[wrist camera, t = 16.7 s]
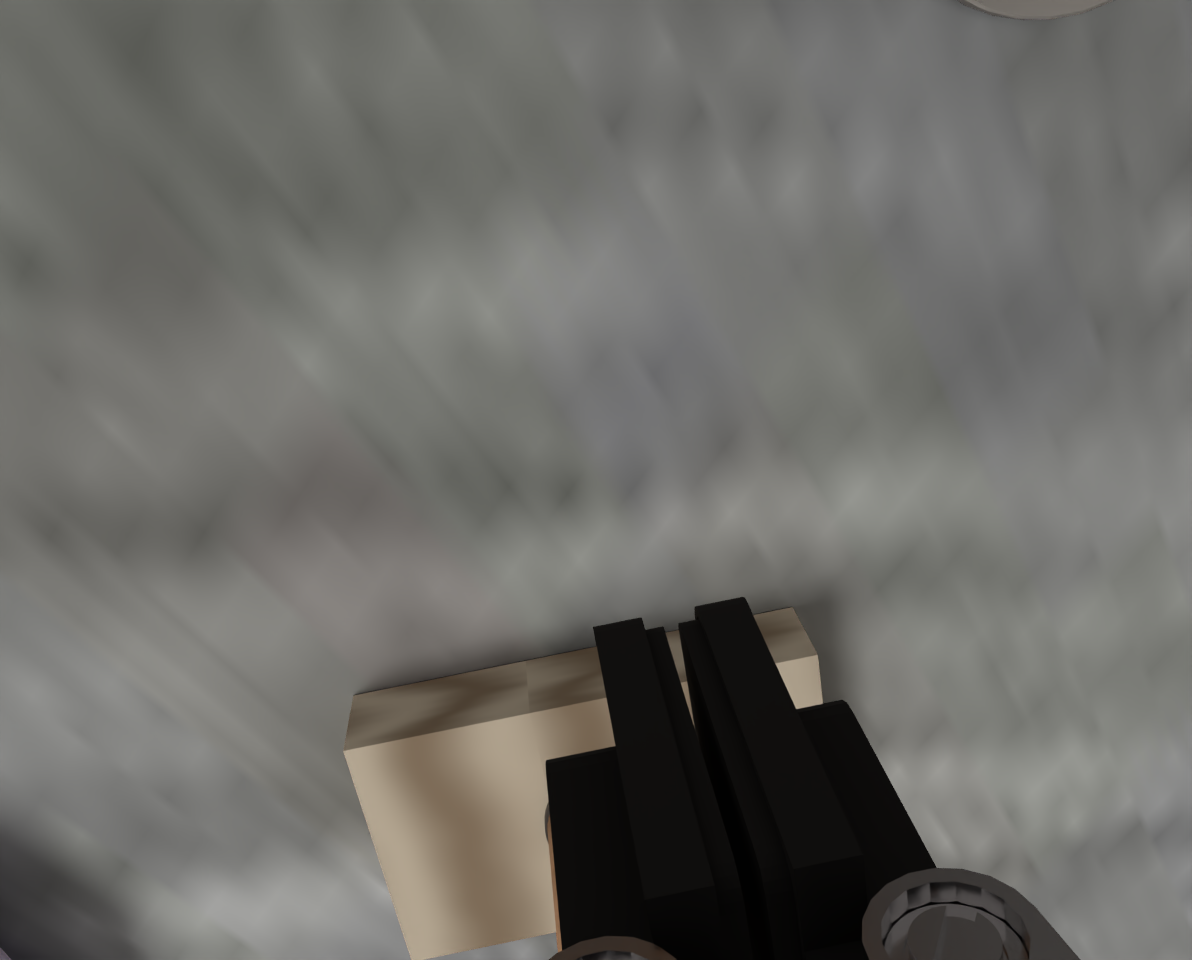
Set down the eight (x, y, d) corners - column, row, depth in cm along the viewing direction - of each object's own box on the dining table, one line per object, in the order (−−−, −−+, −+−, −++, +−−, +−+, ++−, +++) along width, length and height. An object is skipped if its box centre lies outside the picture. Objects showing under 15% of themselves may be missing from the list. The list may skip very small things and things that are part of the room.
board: (792, 607, 49) (817, 654, 45) (815, 814, 54) (840, 872, 50) (353, 695, 49) (343, 751, 45) (416, 897, 53) (412, 961, 50)
